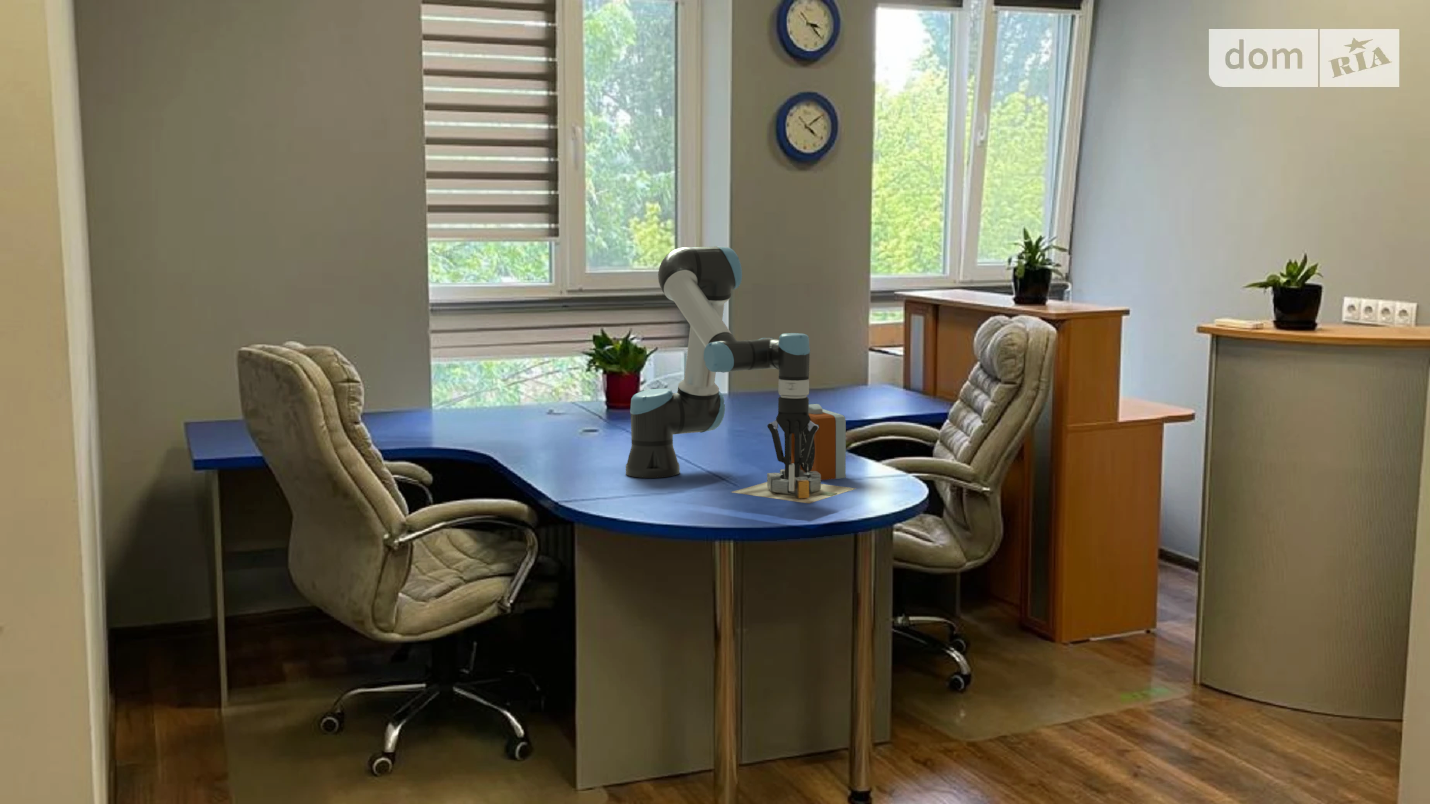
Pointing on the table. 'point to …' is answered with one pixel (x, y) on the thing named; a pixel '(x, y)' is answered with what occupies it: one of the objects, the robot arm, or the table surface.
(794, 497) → the collar base
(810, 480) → the grey handled ring
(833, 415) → the alarm clock
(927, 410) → the table surface
